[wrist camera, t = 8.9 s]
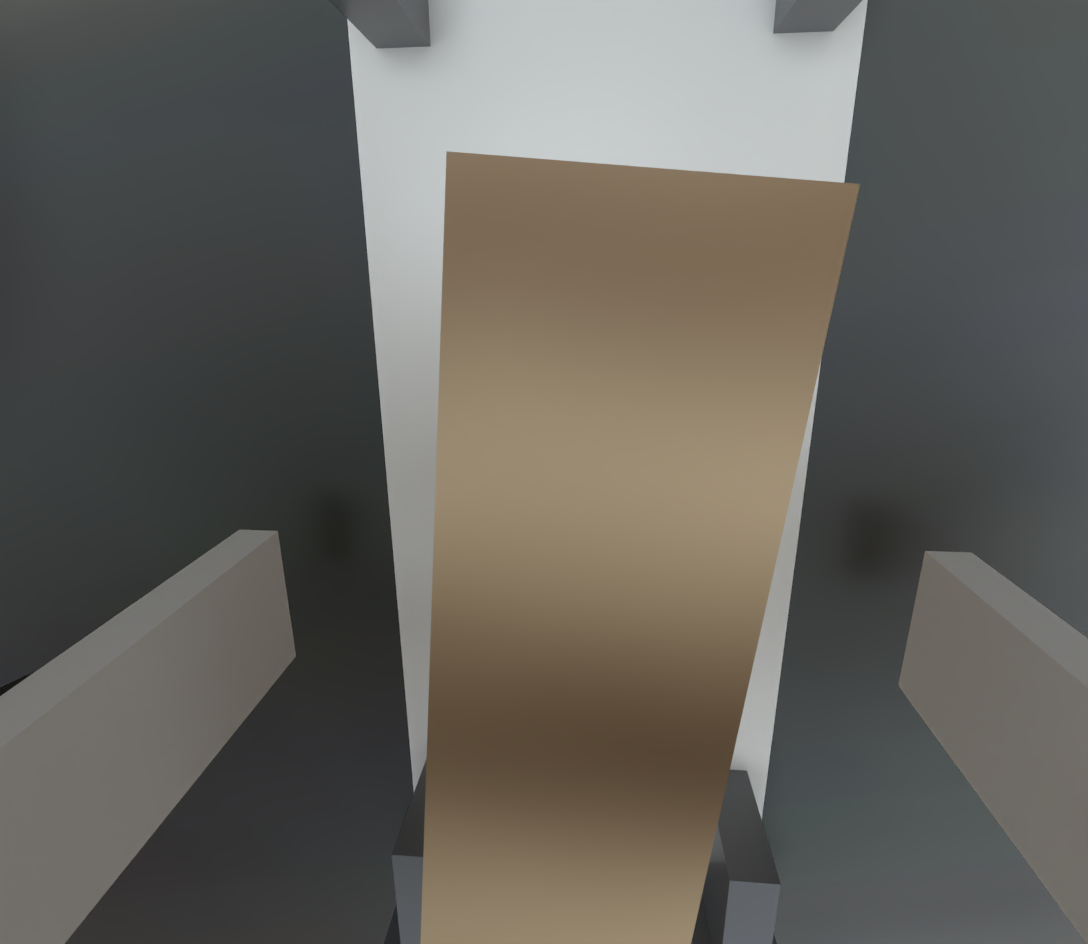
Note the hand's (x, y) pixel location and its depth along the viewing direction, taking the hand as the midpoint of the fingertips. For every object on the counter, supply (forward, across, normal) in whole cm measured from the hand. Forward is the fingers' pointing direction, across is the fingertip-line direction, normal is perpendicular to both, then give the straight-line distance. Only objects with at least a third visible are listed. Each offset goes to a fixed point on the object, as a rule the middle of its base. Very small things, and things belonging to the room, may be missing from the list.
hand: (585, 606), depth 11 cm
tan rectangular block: (+2, 0, 0) cm, 2 cm away
